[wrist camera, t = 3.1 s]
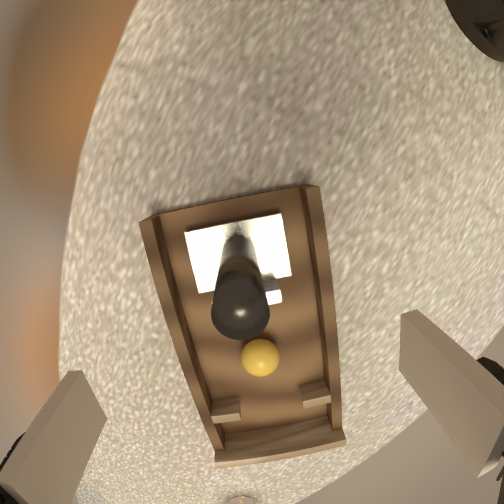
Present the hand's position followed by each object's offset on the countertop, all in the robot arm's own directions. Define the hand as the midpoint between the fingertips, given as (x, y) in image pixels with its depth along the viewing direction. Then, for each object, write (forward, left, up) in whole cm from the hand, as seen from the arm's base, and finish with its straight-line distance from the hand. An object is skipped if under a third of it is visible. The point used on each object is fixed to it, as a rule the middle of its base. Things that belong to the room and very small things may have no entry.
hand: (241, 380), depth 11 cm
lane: (+10, 0, -21) cm, 24 cm away
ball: (+11, 0, -20) cm, 23 cm away
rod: (0, 0, -20) cm, 20 cm away
